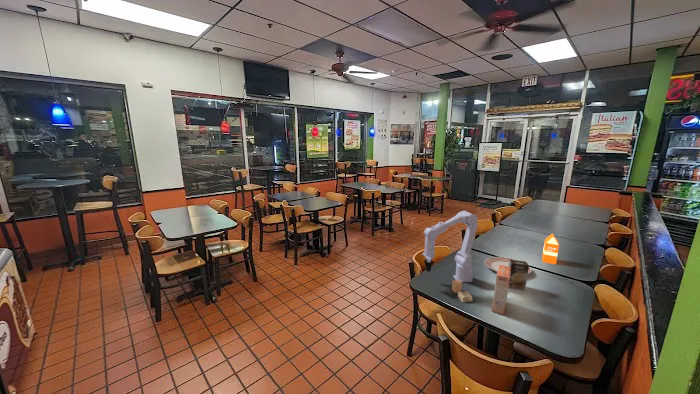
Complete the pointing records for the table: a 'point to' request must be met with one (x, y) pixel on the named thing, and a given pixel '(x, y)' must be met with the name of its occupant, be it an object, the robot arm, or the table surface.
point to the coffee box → (518, 274)
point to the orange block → (457, 286)
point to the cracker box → (501, 289)
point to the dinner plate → (499, 263)
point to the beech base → (465, 296)
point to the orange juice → (550, 250)
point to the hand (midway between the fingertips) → (428, 268)
